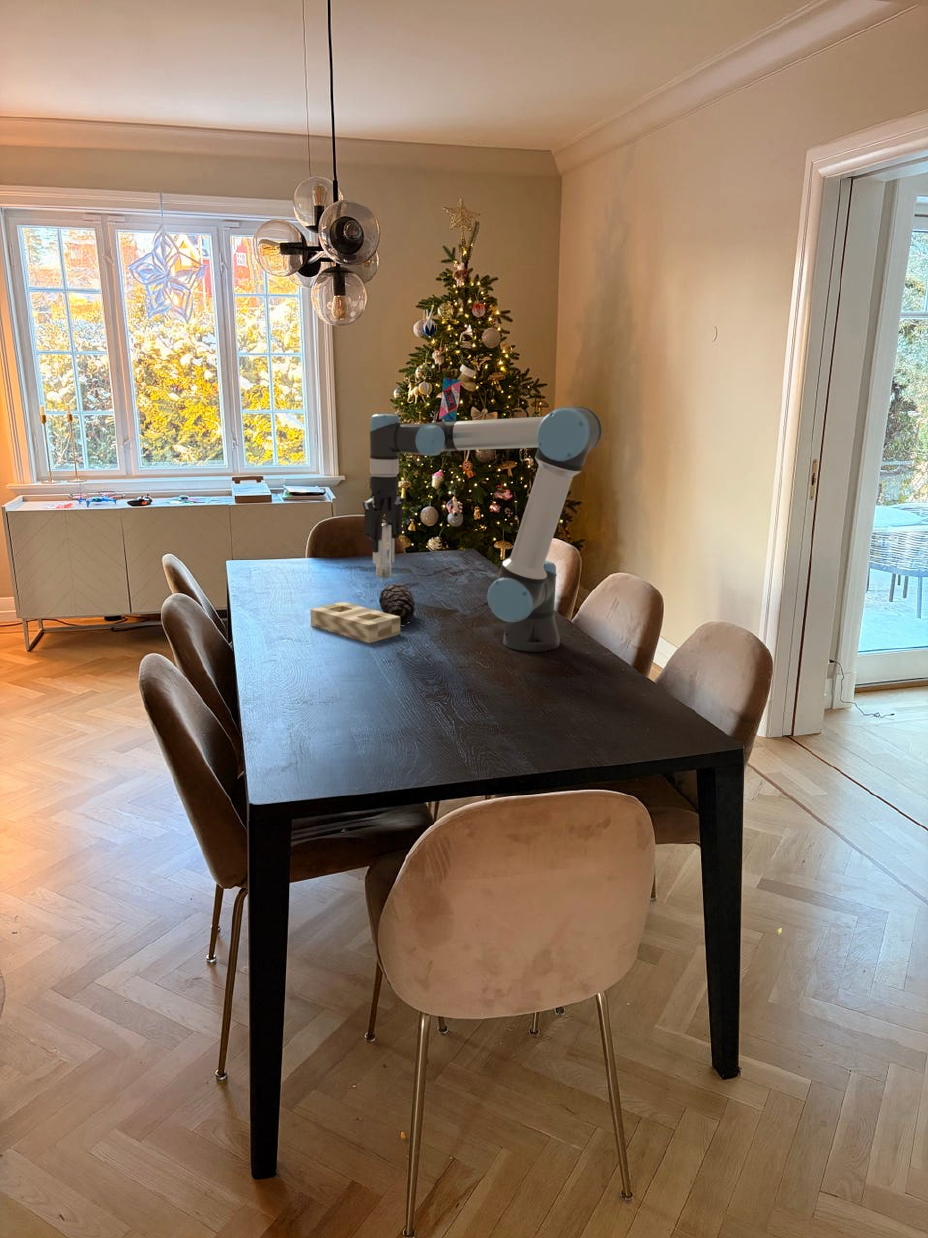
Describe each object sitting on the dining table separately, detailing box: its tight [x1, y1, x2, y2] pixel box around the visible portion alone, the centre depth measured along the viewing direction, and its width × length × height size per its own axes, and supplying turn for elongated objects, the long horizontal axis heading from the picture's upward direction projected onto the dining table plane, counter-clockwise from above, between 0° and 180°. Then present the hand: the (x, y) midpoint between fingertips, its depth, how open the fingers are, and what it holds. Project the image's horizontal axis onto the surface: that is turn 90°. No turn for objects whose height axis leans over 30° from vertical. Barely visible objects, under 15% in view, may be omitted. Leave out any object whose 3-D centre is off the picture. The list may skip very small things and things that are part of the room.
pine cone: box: [378, 583, 416, 625], centre depth 262 cm, size 10×18×10 cm, turn 20°
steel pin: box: [375, 522, 392, 579], centre depth 238 cm, size 4×4×14 cm
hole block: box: [309, 601, 401, 644], centre depth 251 cm, size 24×12×5 cm, turn 49°
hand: (383, 562), depth 238 cm, fingers closed on steel pin, 4 cm apart
